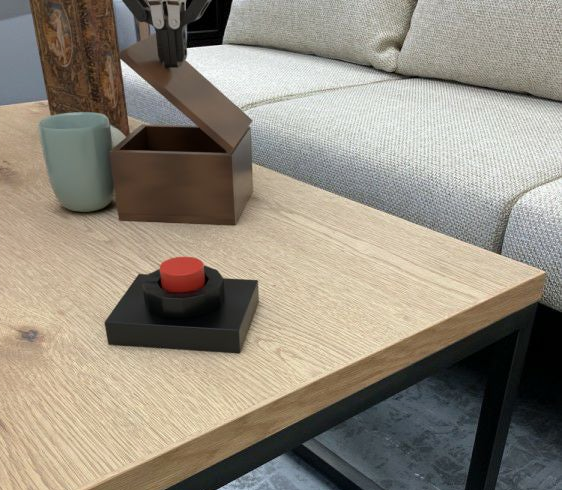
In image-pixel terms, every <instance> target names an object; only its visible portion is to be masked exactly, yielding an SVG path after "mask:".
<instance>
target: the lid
mask: <svg viewBox="0 0 562 490" xmlns="http://www.w3.org/2000/svg"><path fill="white" fill-rule="evenodd" d="M119 53H120V54H119V55H118V57H119V58H120V61H121V62H123V63H124V64H126V66H128V67H129V68H130V69H131V70H132V71H133V72H135V73H136V74H137V75H138V76H139V77H140V78H141V79H143V80H144V81H145V82H146V83H147V84H148V85H149V86H151V87H152V88H153V89H154V90H155V91H156V92H157V93H159V94H160V95H161V96H162V97H164V99H165V100H167V102H169V103H170V104H171V105H173V107H175V108H176V109H177V110H178V111H179V112H181V113H182V114H183V115H184V116H185V117H186V118H188V119H189V121H191V122H192V123H193V124H195V126H198V127H199V128H200V129H202V130H203V131H204V132H205V133H206V134H207V135H208V136H210V137H211V138H212V139H213V140H214V141H215V142H216V143H218V144H219V145H220V146H221V147H222V148H223V149H225V150H226V151H227V152H228V153H230V152H231V151H232V150H233V149H234V147H235V146H236V144H237V143H238V141H239V140H240V138H241V137H242V135H243V134H244V133H245V131H246V130H247V128H248V127H250V125H251V124H252V122H253V119H252V118H251V117H250V116H248V115H247V114H246V113H245V112H244V111H243V110H242V109H241V108H240V107H239V106H238V105H236V104H235V103H234V101H232V100H231V99H229V97H227V96H226V95H225V94H224V93H223V92H222V91H221V90H220V89H218V87H216V86H215V85H214V84H213V83H212V82H211V81H210V80H209V79H207V78H206V76H204V75H203V74H202V73H200V71H199V70H197V69H196V68H195V67H194V66H193V65H192V64H190V63H189V62H188V61H187V59H186V60H184V61H183V63H182V66H180V67H179V68H166V67H165V66H164V62H162V61H160V59H159V57H158V50H157V40H156V32H155V33H154V32H153V33H152V34H150V35H148V36H147V37H145V38H143V39H141V40H139V41H137V42H135V43H133V44H131V45H129V46H127V47H125V48H124V49H121V50H120V51H119Z"/></svg>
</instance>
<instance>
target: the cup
mask: <svg viewBox="0 0 562 490" xmlns="http://www.w3.org/2000/svg"><path fill="white" fill-rule="evenodd" d="M37 127H38V135H39V140H40V144H41V150H42V154H43V158H44V159H43V160H44V164H45V169H46V173H47V176H48V180H49V183H50V186H51V188H52V191H53V194H54V195H55V198H56V199H57V201H58V203H59V204H60V205H61V206H62V207H64V208H65V209H67V210H69V211H72V212H77V213H89V212H90V213H91V212H96V211H100V210H102V209H104V208H106V207H107V206H109V205H110V204H111V203H112V201H113V199H114V197H115V190H114V183H113V176H112V170H111V163H110V156H109V151H110V150H112V149H113V141H112V134H111V128H110V123H109V119H108V117H107V116H106V115H104V114H100V113H91V112H75V113H64V114H57V115H53V116H51V115H49V116H47V117H45V118H42V119H41V120H40V121H39V122H38V125H37Z"/></svg>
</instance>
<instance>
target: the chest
mask: <svg viewBox="0 0 562 490" xmlns="http://www.w3.org/2000/svg"><path fill="white" fill-rule="evenodd" d="M109 156H110V163H111V170H112V176H113V183H114V190H115V195H114V197H115V202H116V203H115V204H116V210H117V216H118V220H119V221H129V222H130V221H131V222H133V221H134V222H155V223H177V224H202V225H223V226H225V225H226V226H236V225H237V222H238V221H239V219H240V217H241V215H242V213H243V211H244V209H245V207H246V205H247V203H248V201H249V199H250V197H251V196H252V194H253V192H254V177H253V176H254V173H253V172H254V171H253V147H252V127H251V126H249V127H248V128H247V130H246V131H245V133H244V134H243V135H242V137H241V138H240V140H239V141H238V143H237V144H236V146H235V147H234V149H233V150H232V151H231V152H230V153H228V152H227V151H226V150H225V149H223V148H222V147H221V146H220V145H219V144H218V143H216V142H215V141H214V140H213V139H212V138H211V137H210V136H208V135H207V134H206V133H205V132H204V131H203V130H202V129H200V128H199V127H198V126H197V125H189V124H188V125H185V124H147V123H146V124H145V123H144V124H142V123H141V124H140V125H139V126H138V127H136V128H135V129H134V130H133V131H131V132H130V134H129V135H128V136H127V137H126V138H125V139H123V140H122V141H121V142H120V143H119V144H118V145H116V146H115V147H114V148H113V149H112V150H110V151H109Z"/></svg>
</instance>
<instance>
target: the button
mask: <svg viewBox="0 0 562 490" xmlns="http://www.w3.org/2000/svg"><path fill="white" fill-rule="evenodd" d="M204 266H205V265H204V262H203V260H201V259H199V258H197V257H193V256H176V257H171V258H168V259H166V260H164V261H163V262H161V263H160V264H159V269H160V276H161V285H162V288H163V289H164V290H167V291H170V292H188V291H193V290H197V289H199V288H201V287H203V286H204V285H205V274H204Z"/></svg>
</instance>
